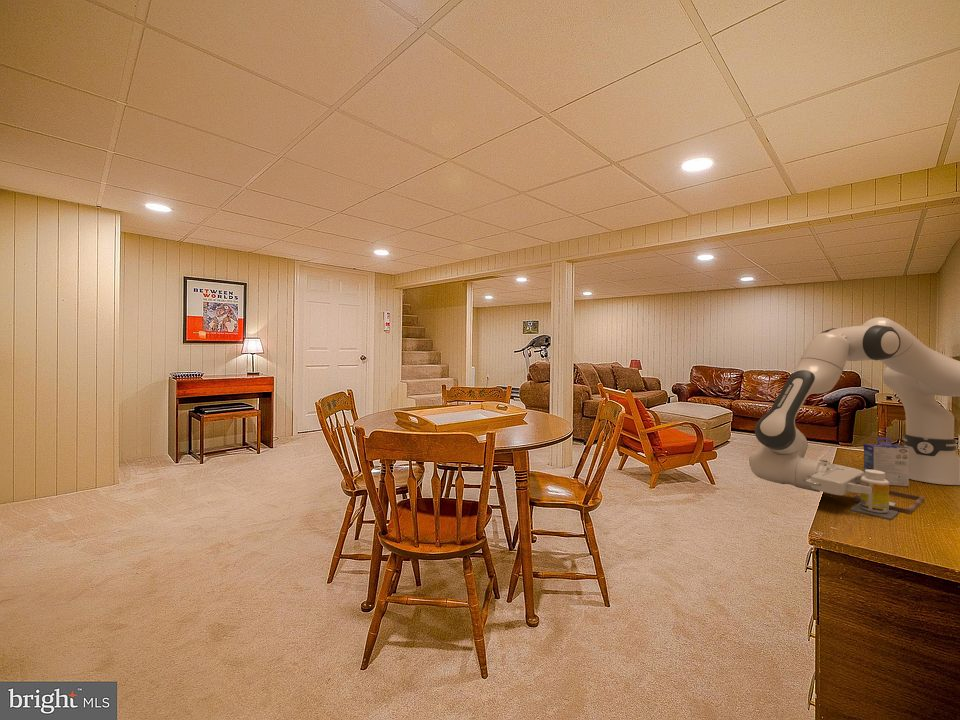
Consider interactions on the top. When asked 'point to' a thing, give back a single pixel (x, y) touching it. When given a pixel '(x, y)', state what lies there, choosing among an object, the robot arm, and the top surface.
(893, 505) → the flat tile
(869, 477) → the supplement bottle
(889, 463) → the ink cartridge box
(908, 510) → the brown rectangular frame
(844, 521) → the top surface
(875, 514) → the pad
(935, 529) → the top surface
